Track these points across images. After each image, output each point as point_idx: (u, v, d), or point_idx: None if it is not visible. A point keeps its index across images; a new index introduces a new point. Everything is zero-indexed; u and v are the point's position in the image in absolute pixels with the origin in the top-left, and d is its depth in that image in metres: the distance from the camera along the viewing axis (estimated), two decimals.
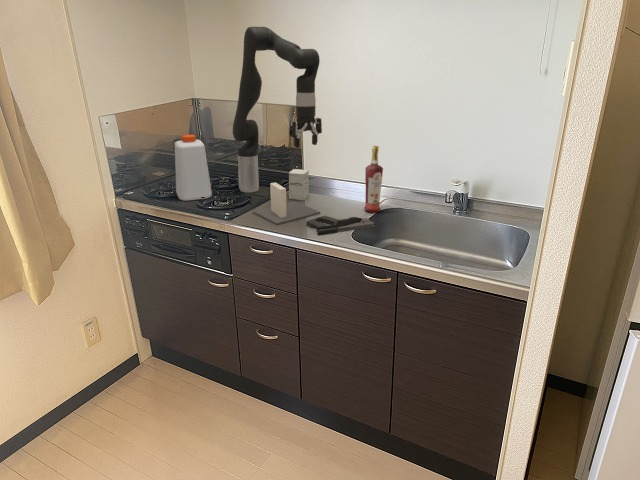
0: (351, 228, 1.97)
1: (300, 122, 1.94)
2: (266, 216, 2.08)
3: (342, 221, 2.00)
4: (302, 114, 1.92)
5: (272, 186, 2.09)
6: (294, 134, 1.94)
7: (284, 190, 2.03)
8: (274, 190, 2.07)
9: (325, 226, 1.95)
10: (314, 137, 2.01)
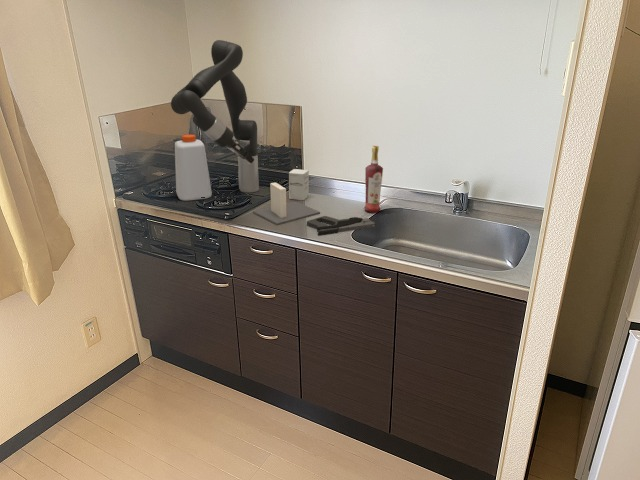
0: (352, 228, 1.97)
1: None
2: (266, 216, 2.08)
3: (343, 221, 2.00)
4: None
5: (272, 186, 2.09)
6: None
7: (284, 190, 2.03)
8: (274, 190, 2.07)
9: (326, 226, 1.95)
10: None
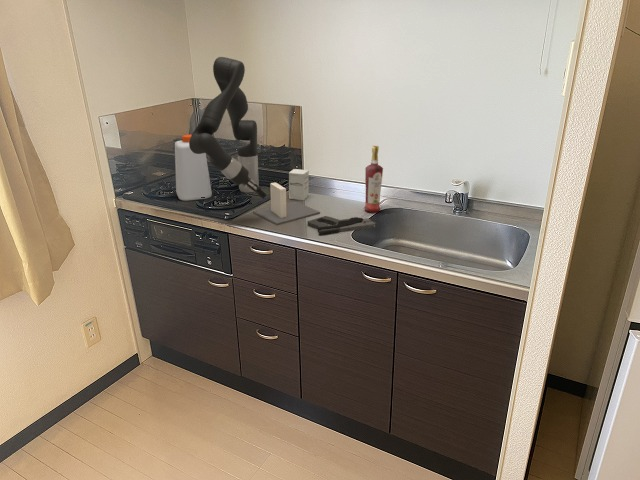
0: (352, 228, 1.96)
1: None
2: (266, 216, 2.08)
3: (343, 222, 2.00)
4: None
5: (272, 186, 2.09)
6: None
7: (284, 190, 2.03)
8: (274, 190, 2.07)
9: (326, 226, 1.95)
10: None
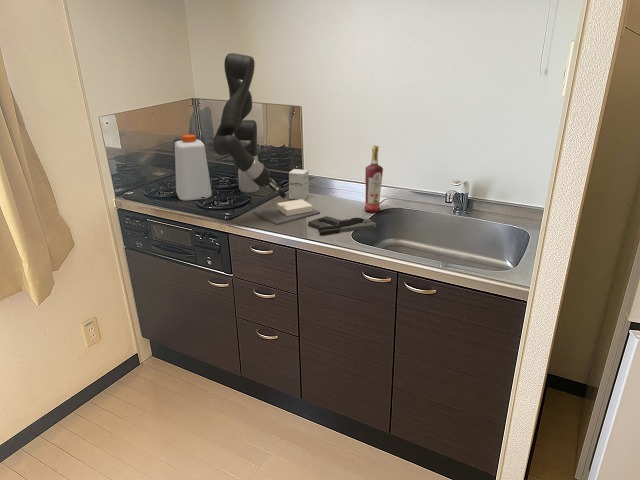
0: (353, 229, 1.96)
1: None
2: (266, 216, 2.08)
3: (344, 222, 2.00)
4: None
5: (302, 200, 2.18)
6: None
7: (311, 210, 2.13)
8: (302, 202, 2.16)
9: (327, 227, 1.95)
10: None
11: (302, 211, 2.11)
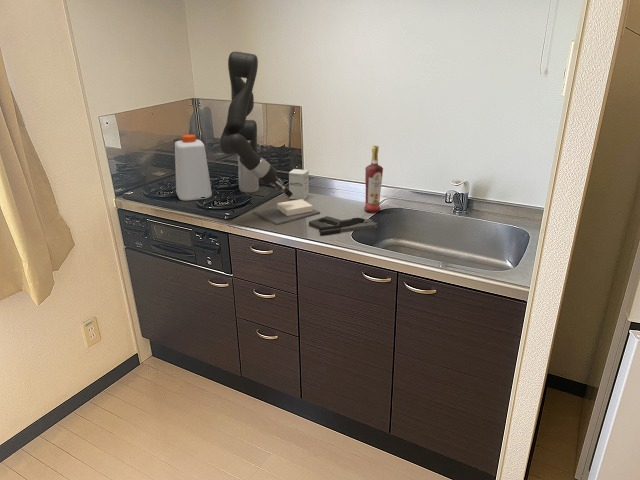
0: (354, 229, 1.96)
1: None
2: (266, 216, 2.08)
3: (345, 222, 2.00)
4: None
5: (302, 200, 2.18)
6: None
7: (311, 210, 2.13)
8: (302, 202, 2.16)
9: (328, 227, 1.95)
10: None
11: (302, 211, 2.11)
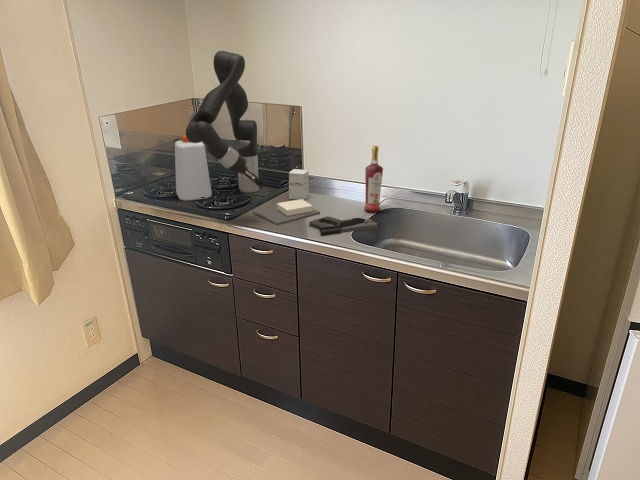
0: (354, 229, 1.96)
1: None
2: (266, 216, 2.08)
3: (345, 222, 2.00)
4: None
5: (302, 200, 2.18)
6: None
7: (311, 210, 2.13)
8: (302, 202, 2.16)
9: (328, 227, 1.95)
10: None
11: (302, 211, 2.11)
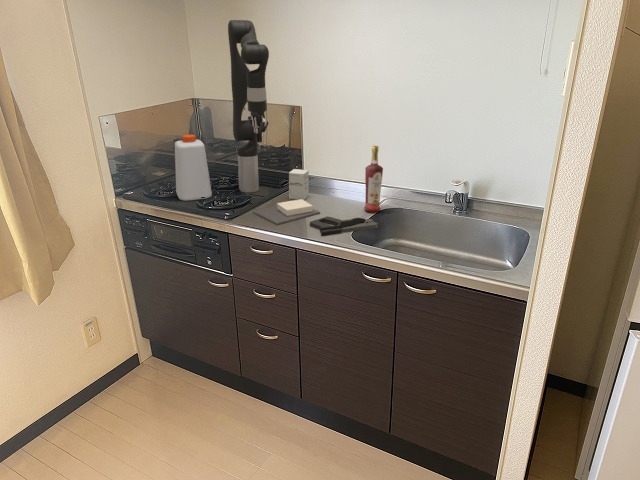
0: (355, 229, 1.96)
1: (251, 114, 2.04)
2: (266, 216, 2.08)
3: (346, 222, 1.99)
4: None
5: (302, 200, 2.18)
6: (252, 127, 2.05)
7: (311, 210, 2.13)
8: (302, 202, 2.16)
9: (329, 227, 1.95)
10: None
11: (302, 211, 2.11)
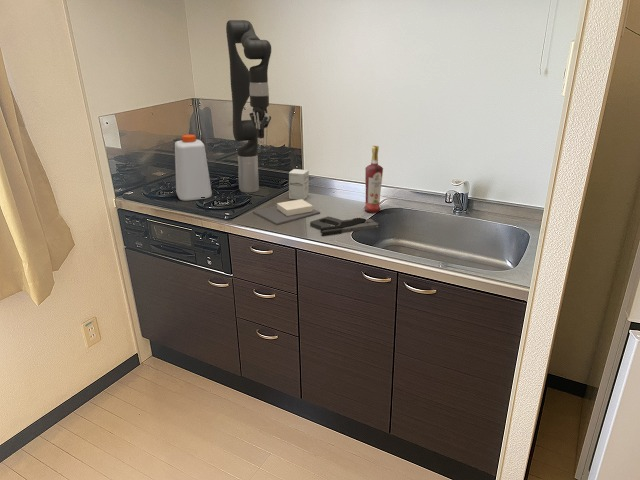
0: (355, 229, 1.96)
1: (253, 110, 2.04)
2: (266, 216, 2.08)
3: (346, 222, 1.99)
4: None
5: (302, 200, 2.18)
6: (254, 123, 2.05)
7: (311, 210, 2.13)
8: (302, 202, 2.16)
9: (329, 227, 1.95)
10: None
11: (302, 211, 2.11)
